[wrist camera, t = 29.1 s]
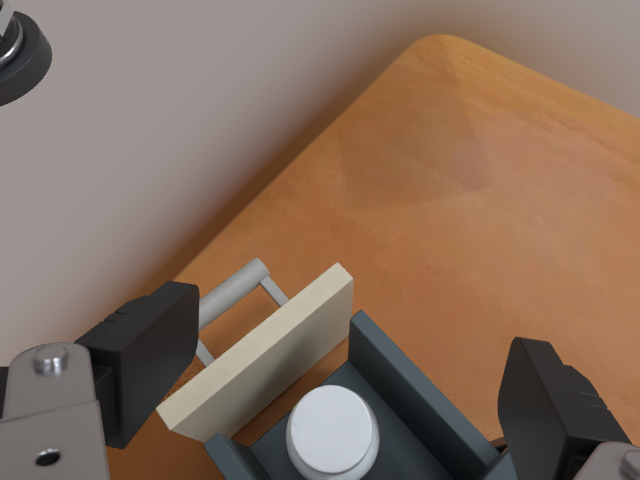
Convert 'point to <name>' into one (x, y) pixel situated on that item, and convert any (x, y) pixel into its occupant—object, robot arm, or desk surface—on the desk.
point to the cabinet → (500, 464)
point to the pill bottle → (332, 435)
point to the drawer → (295, 360)
